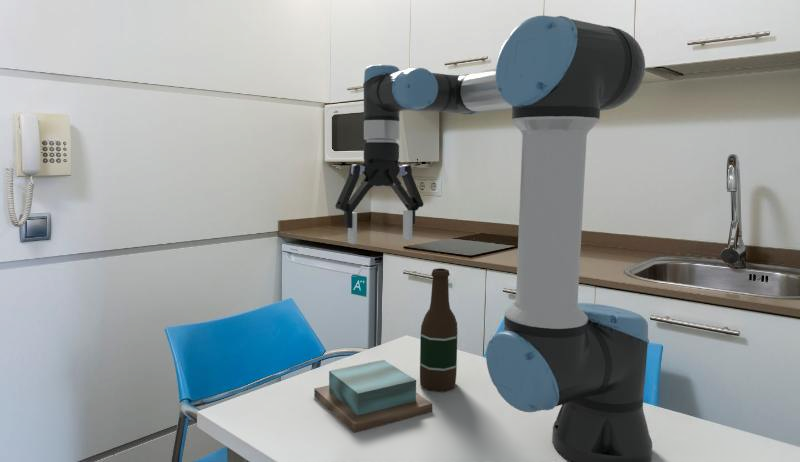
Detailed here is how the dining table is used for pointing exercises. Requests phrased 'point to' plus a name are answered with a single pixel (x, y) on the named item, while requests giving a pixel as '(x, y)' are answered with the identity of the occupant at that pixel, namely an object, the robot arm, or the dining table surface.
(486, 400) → the dining table surface
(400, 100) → the robot arm
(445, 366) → the beer bottle
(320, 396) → the display base
